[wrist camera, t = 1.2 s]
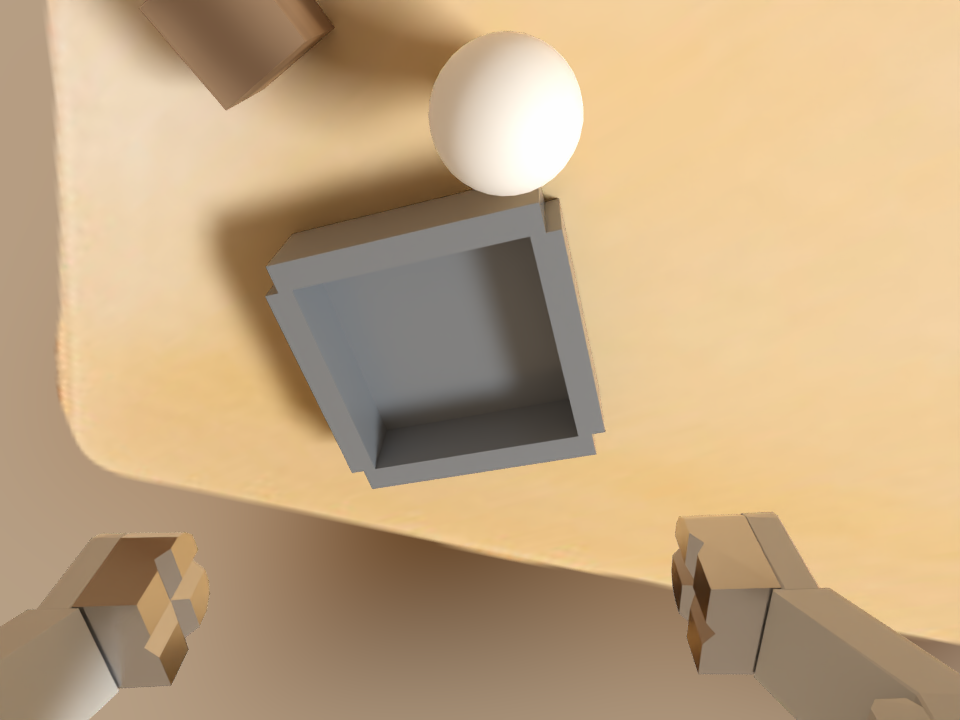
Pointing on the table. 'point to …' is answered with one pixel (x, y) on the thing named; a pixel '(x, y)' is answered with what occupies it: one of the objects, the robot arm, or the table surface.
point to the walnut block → (238, 39)
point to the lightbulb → (505, 113)
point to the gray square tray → (442, 336)
